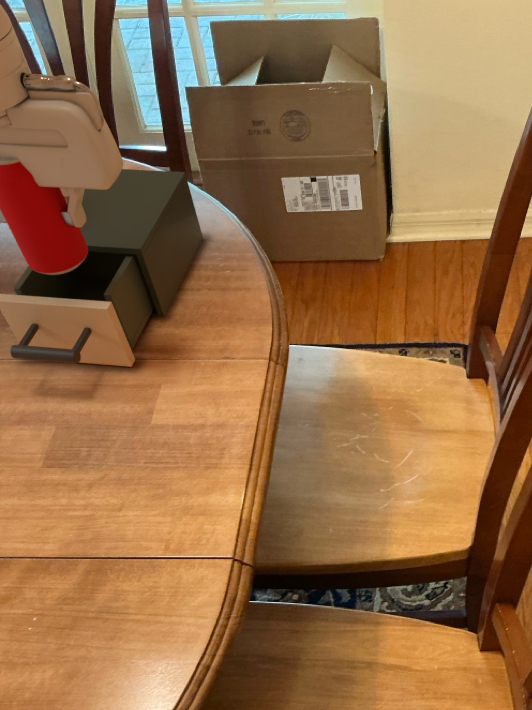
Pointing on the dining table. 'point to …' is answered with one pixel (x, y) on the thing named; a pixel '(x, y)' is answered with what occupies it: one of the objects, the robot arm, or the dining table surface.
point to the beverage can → (39, 221)
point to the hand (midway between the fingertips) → (41, 221)
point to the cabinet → (146, 227)
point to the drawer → (80, 312)
